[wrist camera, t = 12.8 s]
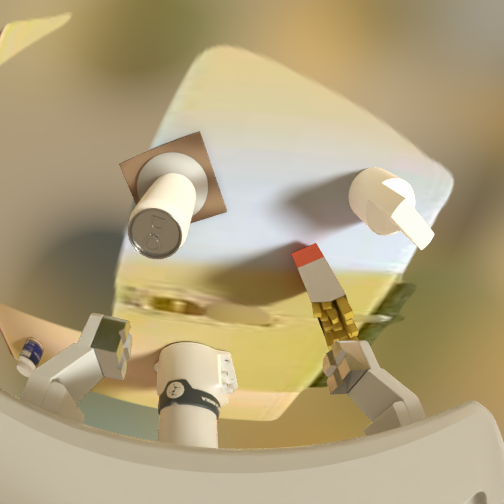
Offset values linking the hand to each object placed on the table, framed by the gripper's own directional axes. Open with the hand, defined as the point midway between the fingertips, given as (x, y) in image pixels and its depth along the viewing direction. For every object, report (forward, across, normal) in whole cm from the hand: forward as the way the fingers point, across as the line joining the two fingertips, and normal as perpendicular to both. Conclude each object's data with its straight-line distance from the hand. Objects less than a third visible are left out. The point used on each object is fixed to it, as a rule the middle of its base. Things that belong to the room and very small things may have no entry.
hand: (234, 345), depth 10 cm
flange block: (+30, +7, +4) cm, 31 cm away
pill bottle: (+29, +45, +50) cm, 74 cm away
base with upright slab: (+31, -23, 0) cm, 39 cm away
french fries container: (+31, -16, +15) cm, 38 cm away
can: (+29, +7, +5) cm, 30 cm away
